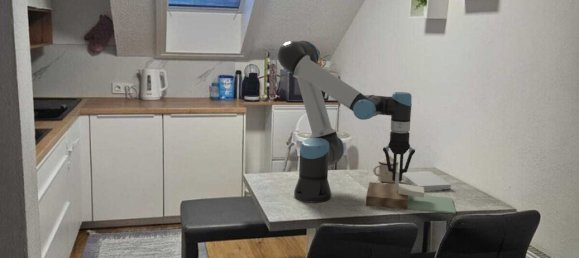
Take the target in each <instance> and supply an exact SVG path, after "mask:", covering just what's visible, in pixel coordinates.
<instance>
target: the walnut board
mask: <svg viewBox="0 0 579 258" xmlns="http://www.w3.org/2000/svg"><path fill="white" fill-rule="evenodd" d="M365 199H366V200H365V207H374V208H384V209H385V208H386V209H392V210H393V209H396V210H404V211H405V210H406V211H408V209H407V208H408V195H403V194H398V190H395V183H386V182H371V181H369V182H368V187H367V192H366V195H365Z"/></svg>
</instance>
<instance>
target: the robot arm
mask: <svg viewBox="0 0 579 258" xmlns="http://www.w3.org/2000/svg"><path fill="white" fill-rule="evenodd" d="M277 51H278V52H277V61H278V63H279V64H280V66H281V67H282V68H283V69H285V70H286V71H287V72H289V73H290V74H292V77H293V78H295V79H296V80H297V84H298V86H299V90H300V94H301V97H302V101H303V105H304V108H305V112H306V115H307V119H308V123H309V126H310V130H311V134H310V136H309V138H306V139H304V140H302V141H301V143H300V146H299V147H300V148H299V165H298V167H299V169H298V172H299V174H298V179H297V182H296V185H295V188H294V191H293V193H294V194H293V198H295V199H296V200H298V201H302V202H306V203H323V202H327V201H329V200H331V199H332V191H331V188H330V184H329V180H328V179H329V177H328V175H329V167H330V166H331V165H335V164H336V163H338V162H339V161H340V160H341V159H342V158H343V156H344V153H345V145H344V142H343V140H342V138H340V137H338V134H337V131H336V129H335V128H332V125H331V121H330V118H329V114H328V110H327V107H326V104H325V98H324V95H323V93H325V94H327V95H328V96H330V97H331V98H332V99H334V100H335V101H337V102H338V103H340V104H341V105H343V106H344V107H346V108H347V109H349V110H351V111H352V113H353V115H354V116H355V118H357V119H358V120H362V121H364V120H369V119H372V118H374V117H375V116H378V115H379V116H390V133H389V142H388V144H387V145H386V146H383V147H382V151H383V153H384V155H385V158H386V161H387V166H388V171H390V172H392V173H393V176H392V180H393V181H395V182H394V184H395V190H398V187H399V184H400V182H402V181H403V178H402V174H403V173H406V172H408V170H409V166H410V164H411V160H412V158H413V156H414V154H415V153H416V149H415V148H413V147H412V146H411V145H410V131H411V117H412V106H413V105H412V94H411V93H410V92H405V91H394V92H392V95H391V96H385V95H384V96H383V95H375V94H366V95H365V94H363V93H361V92H360V91H358V90H357V89H356V88H354V87H353V86H351V85H350V84H348V83H346V82H345V81H344V80H342V79H341V78H339V77H337V76H336V75H334V74H333V73H331V72H330V71H328V70H326V69H325V68H324V67H322V66H320V65H319V63H318V62H319V59H320V53H319V49H318V48H317V46H316V45H315V44H314V43H312V42H310V41H307V40H290V41H286V42H284V43H283V44H282V45H281V46H280V47H279V49H278V50H277ZM322 92H323V93H322ZM389 151H390V152H391V153H392V154H393V168H391V163H390V158H389V155H390V154H389ZM407 152H408V156H407V159H406V162H405V165H404V155H405V154H406V153H407ZM398 155H400V157H399V170H398V171H397V172H396V160H397V159H398ZM397 161H398V160H397ZM403 165H404V168H403Z"/></svg>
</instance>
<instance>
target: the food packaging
mask: <svg viewBox="0 0 579 258" xmlns="http://www.w3.org/2000/svg"><path fill="white" fill-rule="evenodd" d="M402 181H403V182H405V183H406V185H413V186H419V187H424V192H435V191H438V192H439V191H443V189H444V190H451V185H452V184H451V183H449V182H447V181H446V180H445V179H443V178H442V177H440V176H439V175H437V174H435V173H433V172H432V171H431V170H429V171H426V170H425V171H407V172H406V173H403V174H402Z"/></svg>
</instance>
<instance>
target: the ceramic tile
mask: <svg viewBox="0 0 579 258" xmlns="http://www.w3.org/2000/svg"><path fill="white" fill-rule="evenodd" d="M398 194H403V195H409V196H416V197H422V198H424V196H425V191H424V187H419V186H413V185H409V184H407V183H406V184H404V183H399V187H398Z"/></svg>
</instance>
